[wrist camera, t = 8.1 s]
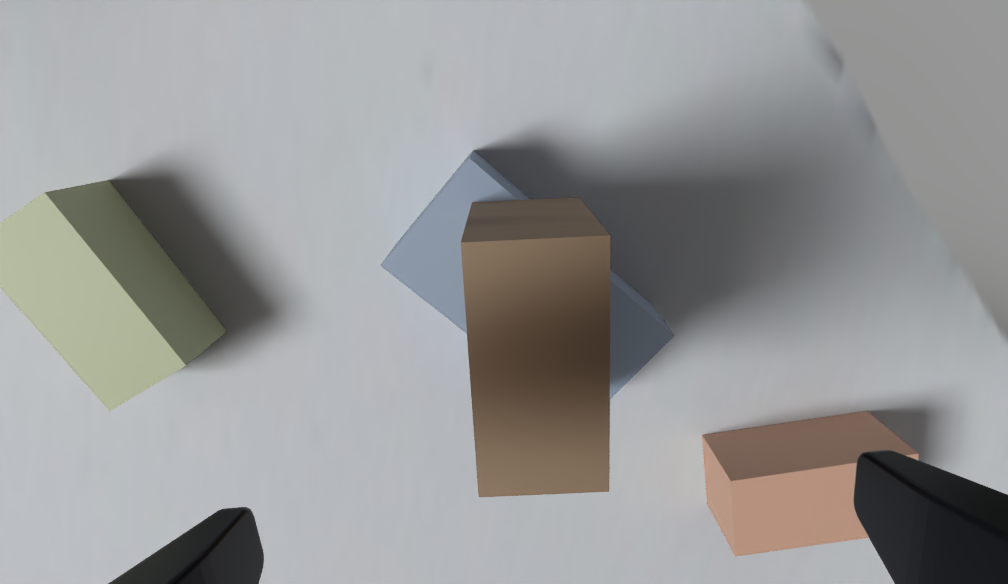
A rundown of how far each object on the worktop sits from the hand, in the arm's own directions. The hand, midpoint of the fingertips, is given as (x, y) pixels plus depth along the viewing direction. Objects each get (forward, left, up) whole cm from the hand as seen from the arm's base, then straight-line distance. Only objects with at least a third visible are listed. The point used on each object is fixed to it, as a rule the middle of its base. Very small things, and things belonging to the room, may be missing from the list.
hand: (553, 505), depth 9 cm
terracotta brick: (-8, -9, -12) cm, 17 cm away
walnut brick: (0, 0, -9) cm, 9 cm away
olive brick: (+1, +13, -12) cm, 18 cm away
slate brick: (0, 0, -12) cm, 12 cm away
